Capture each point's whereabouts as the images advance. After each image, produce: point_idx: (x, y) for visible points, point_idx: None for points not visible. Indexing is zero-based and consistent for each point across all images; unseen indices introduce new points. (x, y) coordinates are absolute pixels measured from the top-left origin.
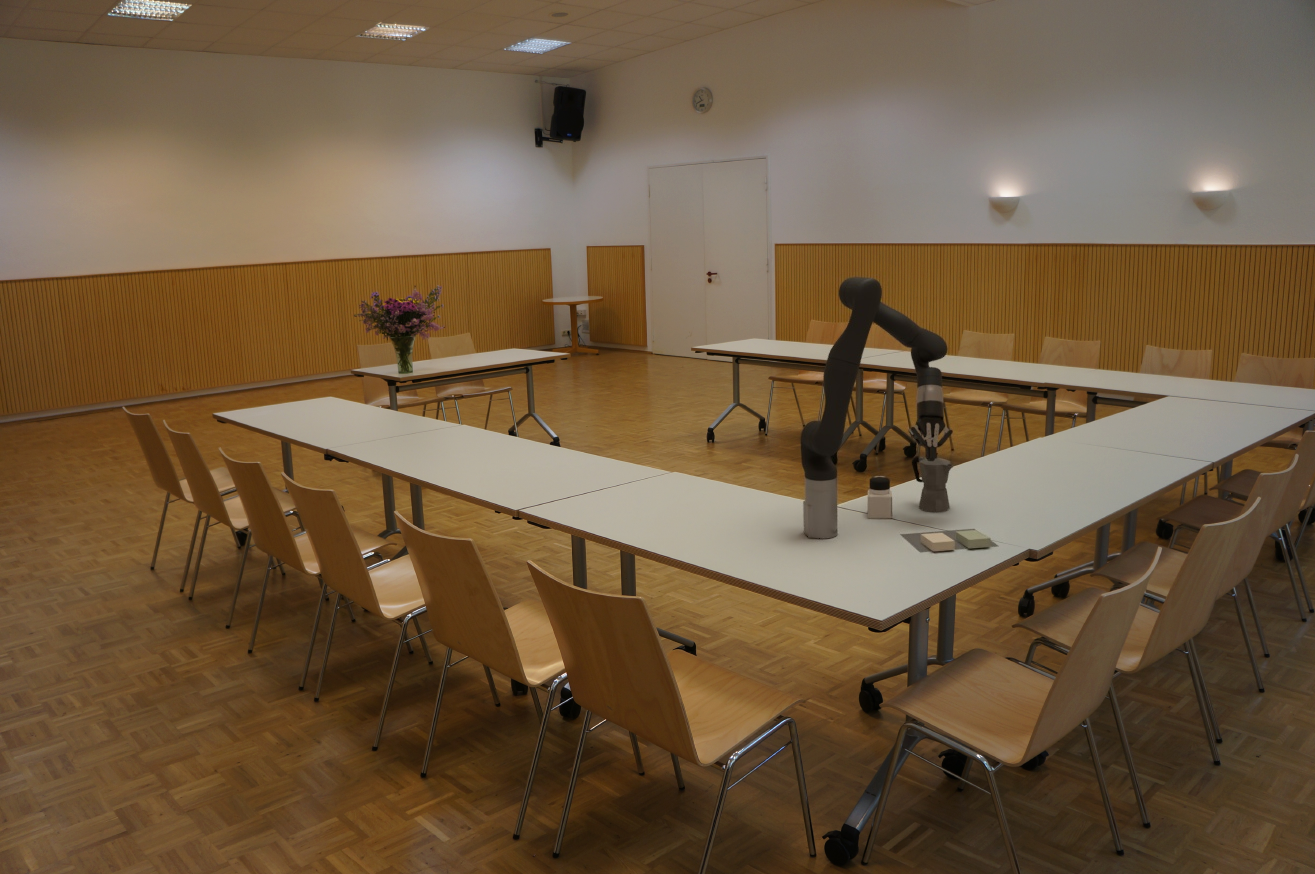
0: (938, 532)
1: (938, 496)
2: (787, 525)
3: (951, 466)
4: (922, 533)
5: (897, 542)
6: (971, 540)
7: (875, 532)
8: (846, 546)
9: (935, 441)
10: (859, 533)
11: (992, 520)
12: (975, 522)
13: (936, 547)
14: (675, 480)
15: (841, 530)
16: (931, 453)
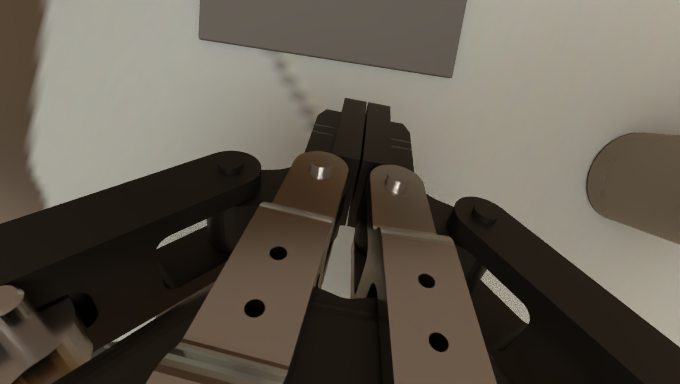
0: (332, 46)
1: (206, 290)
2: (656, 277)
3: (94, 353)
4: (384, 57)
5: (486, 24)
6: None
7: (492, 140)
8: (630, 48)
9: (307, 196)
10: (536, 148)
11: (86, 122)
12: (154, 122)
13: None
14: None
15: (563, 191)
16: (373, 125)
